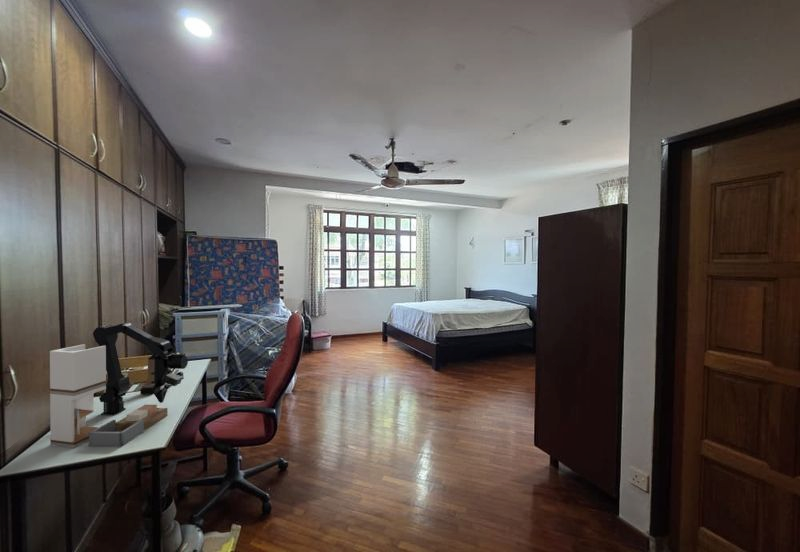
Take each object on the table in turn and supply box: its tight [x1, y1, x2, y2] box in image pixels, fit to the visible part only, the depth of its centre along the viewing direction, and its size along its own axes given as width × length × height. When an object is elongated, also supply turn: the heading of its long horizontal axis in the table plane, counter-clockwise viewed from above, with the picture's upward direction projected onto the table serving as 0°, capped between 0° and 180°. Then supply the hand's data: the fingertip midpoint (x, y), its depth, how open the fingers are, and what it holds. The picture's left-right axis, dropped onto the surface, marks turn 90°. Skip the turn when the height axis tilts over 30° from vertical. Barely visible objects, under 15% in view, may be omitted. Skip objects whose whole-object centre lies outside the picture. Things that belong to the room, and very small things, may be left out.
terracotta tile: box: [136, 404, 158, 415], centre depth 147 cm, size 5×5×2 cm
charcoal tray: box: [88, 419, 145, 448], centre depth 131 cm, size 12×11×5 cm
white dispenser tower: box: [49, 343, 107, 449], centre depth 130 cm, size 11×11×35 cm
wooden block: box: [141, 358, 155, 396], centre depth 180 cm, size 9×4×18 cm, turn 6°
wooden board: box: [116, 407, 168, 432], centre depth 144 cm, size 11×15×4 cm
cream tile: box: [125, 409, 148, 421], centre depth 141 cm, size 5×5×2 cm
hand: (161, 402), depth 156 cm, fingers closed
